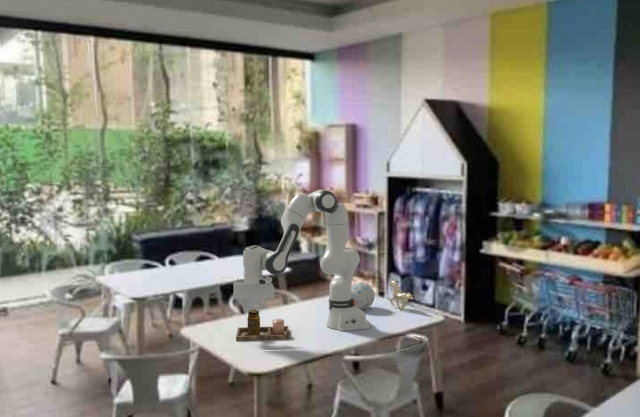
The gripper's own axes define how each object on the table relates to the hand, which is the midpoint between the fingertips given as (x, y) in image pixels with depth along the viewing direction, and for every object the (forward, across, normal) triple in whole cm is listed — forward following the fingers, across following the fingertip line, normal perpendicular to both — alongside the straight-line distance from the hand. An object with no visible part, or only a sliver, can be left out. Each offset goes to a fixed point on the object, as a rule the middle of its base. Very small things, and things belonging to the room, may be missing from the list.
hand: (254, 307), depth 277 cm
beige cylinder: (+14, +10, +5) cm, 18 cm away
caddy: (+15, +3, +2) cm, 15 cm away
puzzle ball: (+16, +41, +60) cm, 74 cm away
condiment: (+14, -2, +1) cm, 15 cm away
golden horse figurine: (+16, +63, +64) cm, 91 cm away
